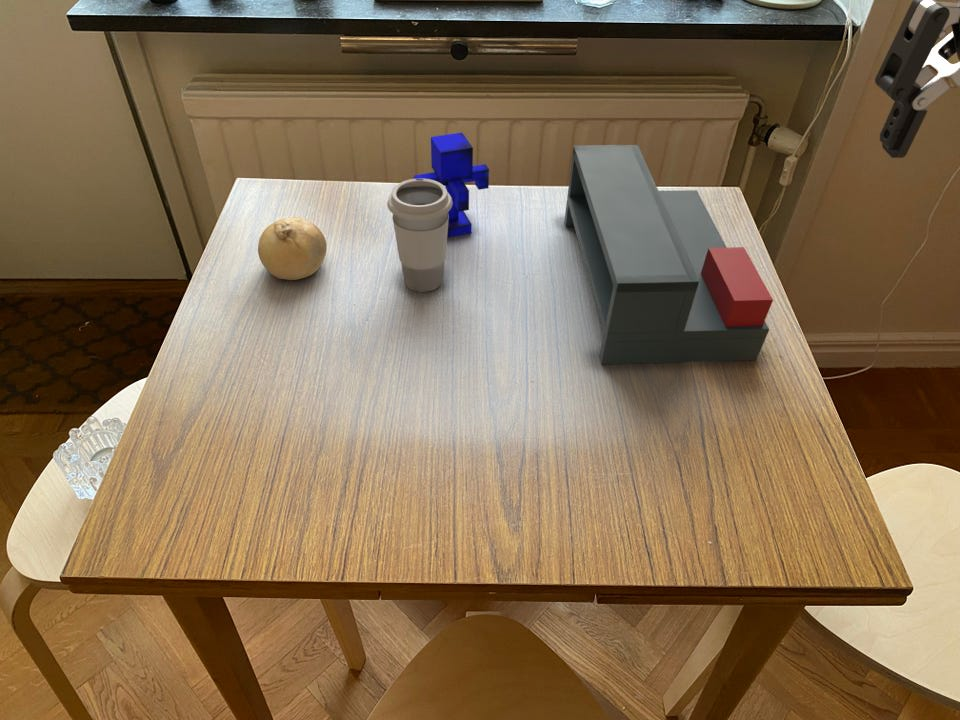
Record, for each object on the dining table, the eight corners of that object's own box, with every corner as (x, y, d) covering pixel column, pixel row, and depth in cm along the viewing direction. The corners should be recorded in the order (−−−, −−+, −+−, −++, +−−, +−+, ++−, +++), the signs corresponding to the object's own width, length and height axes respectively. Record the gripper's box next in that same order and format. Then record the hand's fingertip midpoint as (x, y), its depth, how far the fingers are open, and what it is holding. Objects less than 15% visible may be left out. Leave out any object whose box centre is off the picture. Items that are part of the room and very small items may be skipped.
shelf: (756, 360, 76) (790, 279, 68) (601, 364, 75) (617, 283, 67) (689, 219, 95) (709, 143, 88) (564, 221, 94) (573, 145, 87)
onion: (254, 260, 87) (241, 210, 82) (315, 242, 90) (306, 193, 85) (276, 296, 82) (264, 246, 77) (340, 276, 85) (332, 226, 80)
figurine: (412, 234, 91) (408, 148, 83) (440, 205, 96) (438, 122, 88) (465, 250, 89) (465, 163, 81) (490, 220, 94) (493, 135, 86)
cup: (452, 262, 87) (451, 175, 79) (454, 297, 83) (453, 208, 74) (394, 263, 87) (387, 176, 78) (392, 298, 82) (385, 209, 74)
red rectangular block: (762, 325, 73) (773, 299, 71) (725, 326, 73) (734, 300, 71) (735, 272, 80) (744, 246, 77) (700, 273, 80) (708, 247, 77)
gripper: (1006, -92, 37) (877, 180, 49) (1257, -90, 38) (1073, 178, 50) (932, -124, 43) (832, 129, 54) (1155, -121, 43) (1010, 127, 55)
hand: (948, 152), depth 52 cm, fingers open, 8 cm apart
